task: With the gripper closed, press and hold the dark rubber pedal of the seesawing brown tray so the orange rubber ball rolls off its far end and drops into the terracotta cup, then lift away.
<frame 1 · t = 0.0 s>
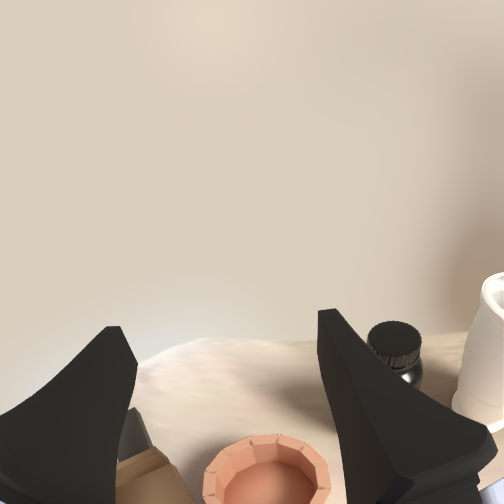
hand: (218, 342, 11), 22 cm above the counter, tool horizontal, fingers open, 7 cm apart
white tapered cylinder: (481, 408, 25), on the counter
cup: (269, 499, 21), on the counter
supplement bottle: (375, 421, 28), on the counter
brown tray: (97, 493, 16), point 7 cm above the counter, hinge at -10.0°, touching ball
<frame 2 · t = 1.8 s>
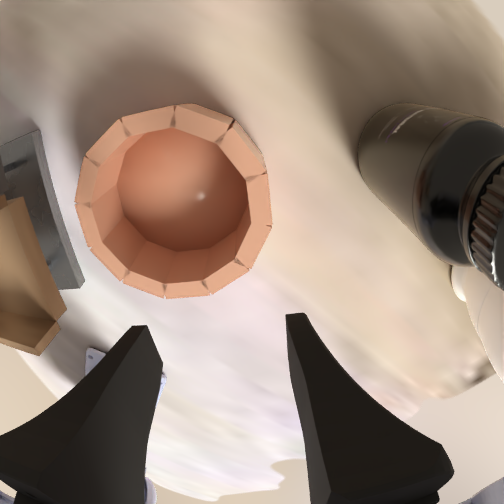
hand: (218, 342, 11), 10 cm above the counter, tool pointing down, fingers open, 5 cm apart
white tapered cylinder: (484, 258, 22), on the counter
cup: (183, 186, 19), on the counter
supplement bottle: (400, 153, 18), on the counter
trough stand: (31, 216, 19), on the counter
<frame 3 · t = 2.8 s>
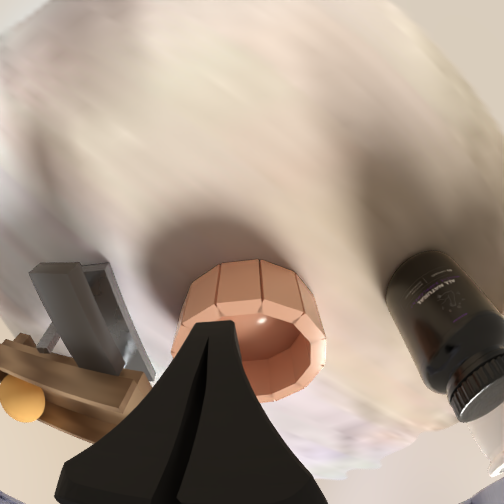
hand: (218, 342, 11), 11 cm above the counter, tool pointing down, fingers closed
white tapered cylinder: (474, 339, 27), on the counter
cup: (249, 317, 24), on the counter
ball: (21, 397, 17), point 9 cm above the counter, tilted 15°, touching brown tray
supplement bottle: (418, 283, 23), on the counter
trough stand: (103, 326, 24), on the counter
brown tray: (51, 359, 16), point 7 cm above the counter, hinge at -10.0°, touching ball
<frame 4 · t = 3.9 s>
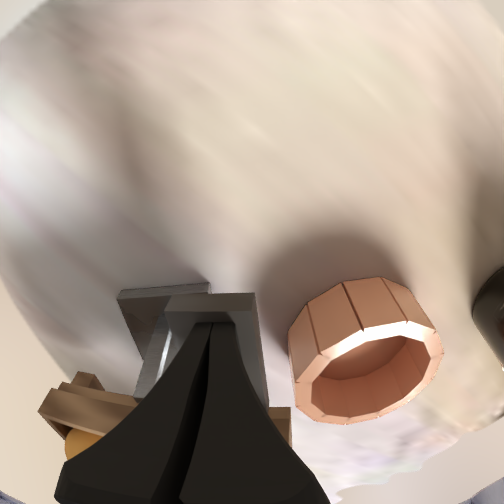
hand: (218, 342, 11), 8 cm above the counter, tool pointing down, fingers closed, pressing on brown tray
cup: (355, 336, 21), on the counter
ball: (95, 452, 14), point 9 cm above the counter, tilted 11°, touching brown tray
supplement bottle: (497, 295, 21), on the counter
trough stand: (185, 353, 22), on the counter
brown tray: (151, 407, 14), point 7 cm above the counter, hinge at -6.8°, touching ball, gripper
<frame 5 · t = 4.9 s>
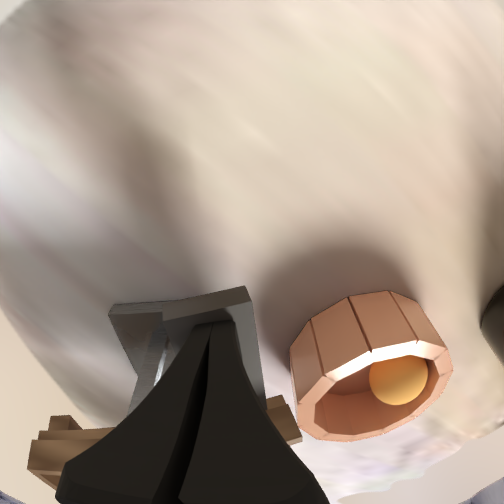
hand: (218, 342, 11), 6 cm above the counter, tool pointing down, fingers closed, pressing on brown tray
cup: (360, 351, 20), on the counter
ball: (398, 375, 18), point 3 cm above the counter, tilted 149°, touching cup
trough stand: (181, 369, 21), on the counter
brown tray: (146, 432, 13), point 7 cm above the counter, hinge at 13.2°, touching gripper
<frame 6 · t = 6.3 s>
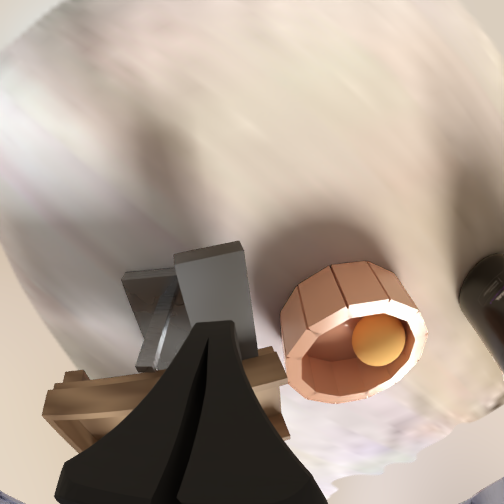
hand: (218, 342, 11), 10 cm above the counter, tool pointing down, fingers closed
cup: (344, 318, 23), on the counter
ball: (378, 338, 21), point 3 cm above the counter, tilted 148°, touching cup
supplement bottle: (483, 283, 23), on the counter
trough stand: (184, 333, 24), on the counter
brown tray: (152, 377, 16), point 7 cm above the counter, hinge at 12.7°
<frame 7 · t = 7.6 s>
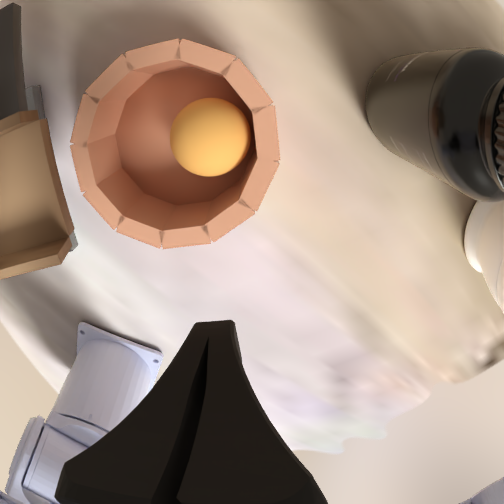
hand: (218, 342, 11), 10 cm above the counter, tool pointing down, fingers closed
white tapered cylinder: (495, 226, 20), on the counter
cup: (185, 135, 17), on the counter
ball: (210, 136, 15), point 3 cm above the counter, tilted 151°, touching cup
supplement bottle: (408, 107, 16), on the counter
trough stand: (25, 176, 18), on the counter
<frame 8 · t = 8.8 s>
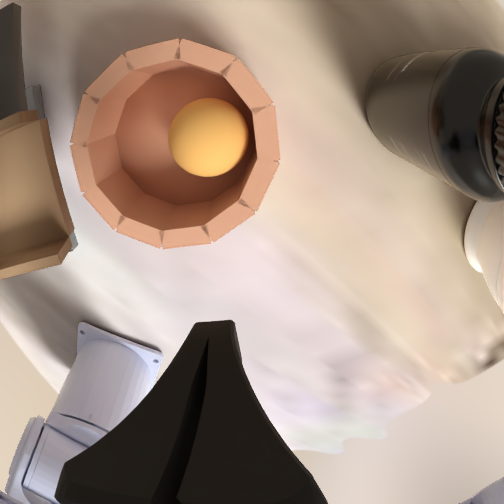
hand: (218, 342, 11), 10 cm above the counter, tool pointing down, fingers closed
white tapered cylinder: (495, 226, 20), on the counter
cup: (185, 135, 17), on the counter
ball: (208, 137, 15), point 3 cm above the counter, tilted 153°, touching cup
supplement bottle: (408, 107, 16), on the counter
trough stand: (25, 176, 18), on the counter
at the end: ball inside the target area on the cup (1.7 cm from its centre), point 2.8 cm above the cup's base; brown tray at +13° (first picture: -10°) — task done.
